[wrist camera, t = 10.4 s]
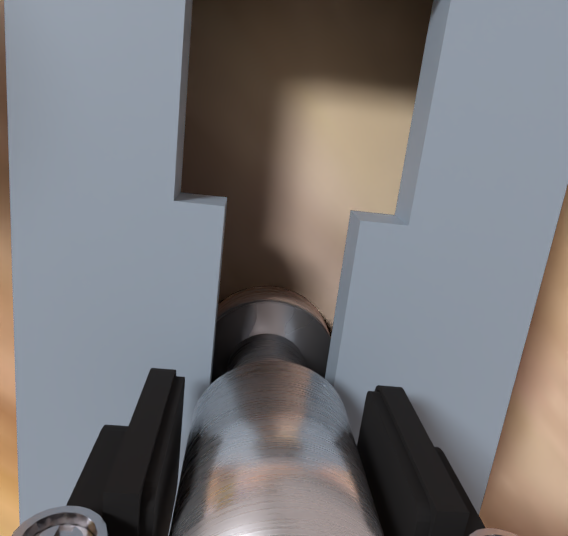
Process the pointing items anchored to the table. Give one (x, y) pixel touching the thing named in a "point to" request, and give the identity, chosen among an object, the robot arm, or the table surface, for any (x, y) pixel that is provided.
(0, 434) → the table surface
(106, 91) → the keyhole plate
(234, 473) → the stud
